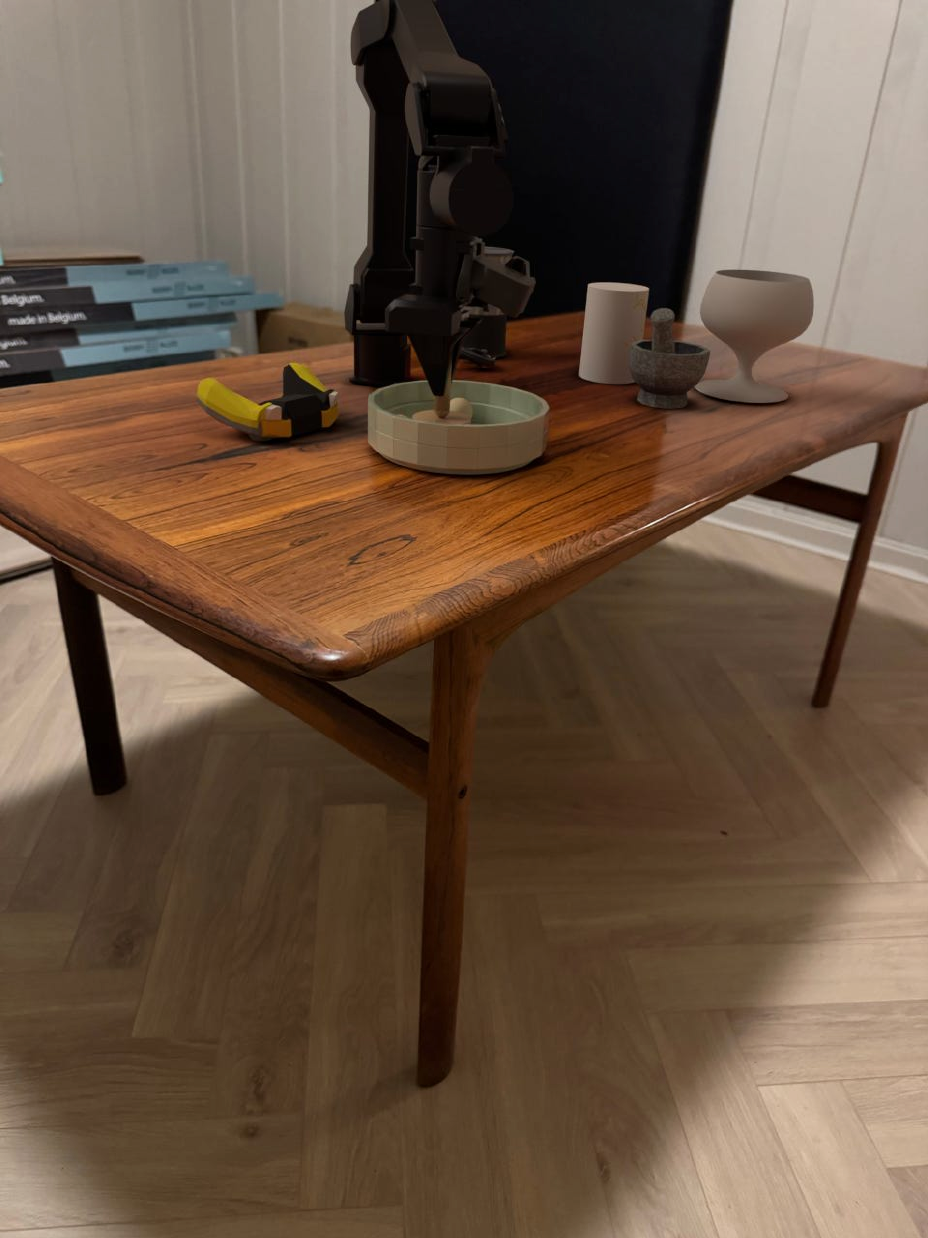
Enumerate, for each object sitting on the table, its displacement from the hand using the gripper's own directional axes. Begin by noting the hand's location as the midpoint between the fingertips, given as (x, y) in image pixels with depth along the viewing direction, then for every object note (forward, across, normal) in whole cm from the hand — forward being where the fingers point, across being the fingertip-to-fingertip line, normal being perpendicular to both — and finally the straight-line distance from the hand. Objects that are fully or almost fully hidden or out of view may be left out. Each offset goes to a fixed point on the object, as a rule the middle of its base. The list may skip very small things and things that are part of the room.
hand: (441, 393), depth 93 cm
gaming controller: (+6, 0, +18) cm, 19 cm away
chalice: (+6, +39, -31) cm, 50 cm away
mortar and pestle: (+6, +29, -21) cm, 36 cm away
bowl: (+6, 0, -2) cm, 6 cm away
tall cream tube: (+6, +41, -13) cm, 44 cm away
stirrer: (+4, 0, 0) cm, 4 cm away
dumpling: (+3, +6, 0) cm, 7 cm away
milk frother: (+6, +44, +7) cm, 45 cm away
